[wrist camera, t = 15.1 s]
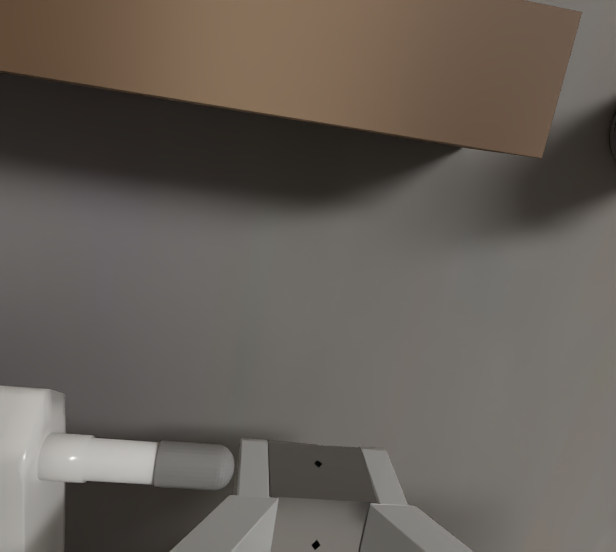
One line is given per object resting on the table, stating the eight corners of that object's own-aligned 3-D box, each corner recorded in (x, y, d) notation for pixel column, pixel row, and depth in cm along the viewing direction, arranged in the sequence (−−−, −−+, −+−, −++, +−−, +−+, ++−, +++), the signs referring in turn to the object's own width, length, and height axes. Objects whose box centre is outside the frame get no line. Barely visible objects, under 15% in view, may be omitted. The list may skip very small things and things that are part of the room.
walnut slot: (-294, 669, 13) (-458, 832, 10) (-489, -144, 8) (-916, -295, 5) (341, 680, 15) (360, 816, 12) (489, 42, 10) (582, 11, 7)
